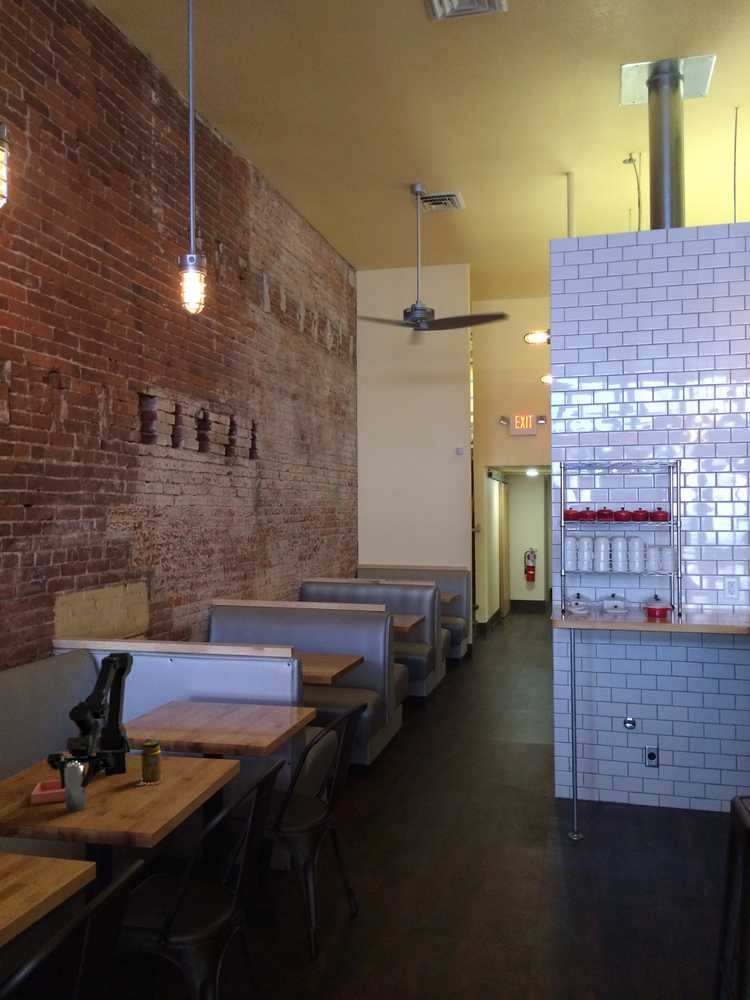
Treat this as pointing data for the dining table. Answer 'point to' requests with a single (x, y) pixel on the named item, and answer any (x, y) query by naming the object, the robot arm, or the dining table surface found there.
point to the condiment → (151, 762)
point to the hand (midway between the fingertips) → (73, 787)
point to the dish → (48, 792)
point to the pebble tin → (75, 786)
